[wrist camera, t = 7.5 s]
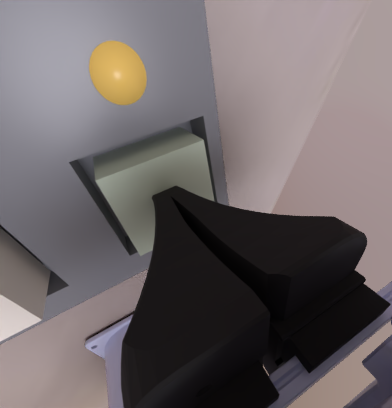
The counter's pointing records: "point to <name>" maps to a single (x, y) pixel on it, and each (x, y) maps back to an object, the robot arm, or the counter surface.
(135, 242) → the sage key
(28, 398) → the counter surface
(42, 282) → the cream key
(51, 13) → the keypad
